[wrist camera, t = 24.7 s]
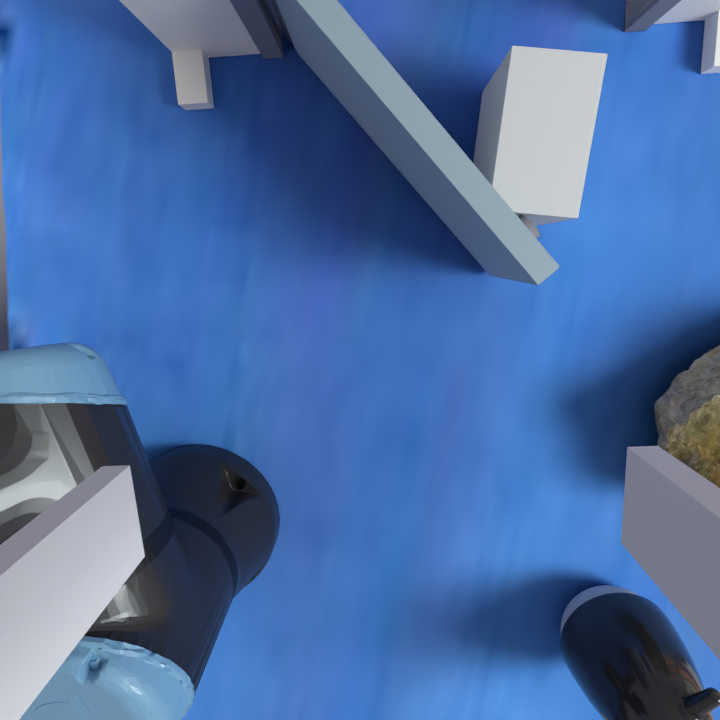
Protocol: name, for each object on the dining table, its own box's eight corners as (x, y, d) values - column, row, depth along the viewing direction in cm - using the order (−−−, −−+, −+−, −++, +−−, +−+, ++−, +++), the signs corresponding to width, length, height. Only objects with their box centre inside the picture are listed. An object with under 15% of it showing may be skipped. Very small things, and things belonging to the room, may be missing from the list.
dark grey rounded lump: (668, 584, 48) (798, 731, 34) (622, 667, 51) (724, 838, 36) (573, 552, 48) (661, 686, 33) (530, 637, 50) (595, 798, 35)
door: (280, 34, 39) (227, -85, 25) (309, 2, 38) (271, -137, 25) (489, 275, 42) (542, 285, 29) (518, 250, 42) (586, 248, 28)
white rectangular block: (465, 219, 42) (488, 209, 33) (482, 92, 40) (512, 45, 31) (535, 225, 42) (577, 218, 33) (556, 98, 40) (607, 53, 31)
